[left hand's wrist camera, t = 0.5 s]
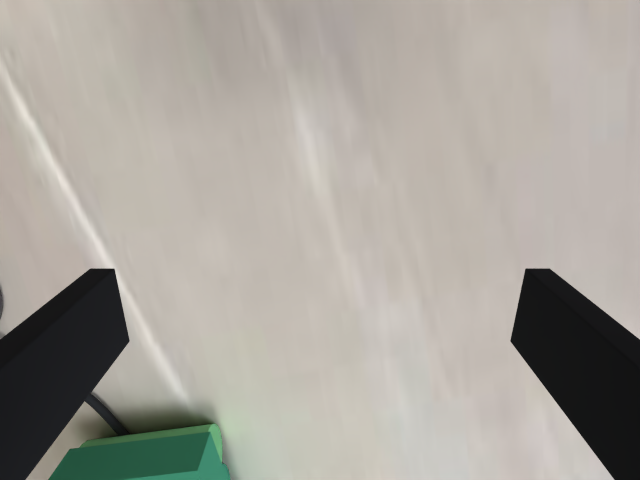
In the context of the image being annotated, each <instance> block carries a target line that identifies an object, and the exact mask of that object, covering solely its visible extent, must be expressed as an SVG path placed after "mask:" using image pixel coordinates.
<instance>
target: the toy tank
mask: <svg viewBox="0 0 640 480" xmlns="http://www.w3.org/2000/svg"><path fill="white" fill-rule="evenodd" d="M49 480H230V474H229V471H228V468H227V466H226V465H225V464H224V463H223V464H222V438H221V433H220V430H219V428H218V426H217V425H216V424H208V425H201V426H193V427H185V428H178V429H170V430H162V431H155V432H147V433H139V434H132V435H125V436H116V437H109V438H101V439H93V440H88V441H86V442H85V443H83V444H82V445H81V446H80V448H74V449H70V450H69V451H68V452H67V454H66V455H65V457H64V458H63V460H62V461H61V462H60V464H59V465H58V467H57V468H56V470H55V471H54V472H53V474H52V475H51V477H50V478H49Z"/></svg>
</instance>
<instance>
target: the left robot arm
mask: <svg viewBox="0 0 640 480" xmlns="http://www.w3.org/2000/svg"><path fill="white" fill-rule="evenodd" d="M128 343H129V336H128V332H127V327H126V322H125V317H124V312H123V308H122V303H121V298H120V293H119V288H118V284H117V279H116V274H115V269H89V270H88V271H87V272H86V273H84V274H83V275H82V276H80V277H79V278H78V279H77V280H75V281H74V282H73V283H72V284H70V285H69V286H68V287H66V288H65V289H64V290H63V291H61V292H60V293H59V294H58V295H56V296H55V297H54V298H53V299H51V300H50V301H49V302H47V303H46V304H45V305H44V306H42V307H41V308H40V309H39V310H37V311H36V312H35V313H33V314H32V315H31V316H30V317H28V318H27V319H26V320H25V321H23V322H22V323H21V324H20V325H18V326H17V327H16V328H14V329H13V330H12V331H11V332H9V333H8V334H7V335H6V336H4V337H3V338H2V339H0V480H26V478H27V477H28V476H29V474H30V473H31V472H32V470H33V469H34V468H35V466H36V465H37V464H38V462H39V461H40V460H41V458H42V457H43V456H44V454H45V453H46V452H47V450H48V449H49V448H50V446H51V445H52V444H53V442H54V441H55V440H56V438H57V437H58V436H59V434H60V433H61V432H62V430H63V429H64V428H65V426H66V425H67V424H68V422H69V421H70V420H71V418H72V417H73V416H74V414H75V413H76V412H77V410H78V409H79V408H80V406H81V405H82V404H83V402H84V401H85V400H86V398H87V397H88V396H89V394H90V393H91V392H92V390H93V389H94V388H95V386H96V385H97V384H98V382H99V381H100V380H101V378H102V377H103V376H104V374H105V373H106V372H107V370H108V369H109V368H110V366H111V365H112V364H113V362H114V361H115V360H116V359H117V357H118V356H119V355H120V353H121V352H122V351H123V349H124V348H125V347H126V345H127V344H128ZM511 343H512V344H513V345H514V347H515V348H516V349H517V351H518V352H519V353H520V355H521V356H522V357H523V359H524V360H525V361H526V362H527V364H528V365H529V366H530V368H531V369H532V370H533V372H534V373H535V374H536V376H537V377H538V378H539V380H540V381H541V382H542V384H543V385H544V386H545V388H546V389H547V390H548V392H549V393H550V394H551V396H552V397H553V398H554V400H555V401H556V402H557V404H558V405H559V406H560V408H561V409H562V410H563V412H564V413H565V414H566V416H567V417H568V418H569V420H570V421H571V422H572V424H573V425H574V426H575V428H576V429H577V430H578V432H579V433H580V434H581V436H582V437H583V438H584V440H585V441H586V442H587V444H588V445H589V446H590V448H591V449H592V450H593V452H594V453H595V454H596V456H597V457H598V458H599V460H600V461H601V462H602V464H603V465H604V466H605V468H606V469H607V470H608V472H609V473H610V474H611V476H612V477H613V478H614V480H640V339H638V338H637V337H636V336H634V335H633V334H632V333H631V332H629V331H628V330H627V329H626V328H624V327H623V326H622V325H620V324H619V323H618V322H617V321H615V320H614V319H613V318H612V317H610V316H609V315H608V314H607V313H605V312H604V311H603V310H601V309H600V308H599V307H598V306H596V305H595V304H594V303H593V302H591V301H590V300H589V299H587V298H586V297H585V296H584V295H582V294H581V293H580V292H579V291H577V290H576V289H575V288H574V287H572V286H571V285H570V284H568V283H567V282H566V281H565V280H563V279H562V278H561V277H560V276H558V275H557V274H556V273H554V272H553V271H552V270H551V269H525V274H524V279H523V284H522V288H521V293H520V298H519V303H518V308H517V312H516V317H515V322H514V327H513V332H512V336H511Z"/></svg>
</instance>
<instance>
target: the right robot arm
mask: <svg viewBox="0 0 640 480" xmlns="http://www.w3.org/2000/svg"><path fill="white" fill-rule="evenodd" d="M2 305H3V303H2V295H1V291H0V318H1V314H2ZM85 402H86V403H88V404H89V405H90V406H91V407H92V408H93V409H95V410H96V411H97V412H98V413H99V414H100V415H101V416H102V418H103V419H104V420H105V421H106V422H107V423H108V424H109V425H110V426H111V428H112V429H113V430H114V431H115V432H116V433H117V434H118V435H119V436H125V435H131V434H130V433H129V432H128V431H127V430H126V429H125V428H124V427H123V426H122V425H121V424H120V423H119V421H118V420H117V419H116V418H115V417H114V416H113V415H112V413H111V412H110V411H109V410H108V409H107V408H106V407H105V406H104V405H103V404H102V403H101V402H100V401H99V400H98V399H97V398H95V397H94V396H93V395H92V394H91V393H90V394H89V396H88V397H87V398H86V400H85Z"/></svg>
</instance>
